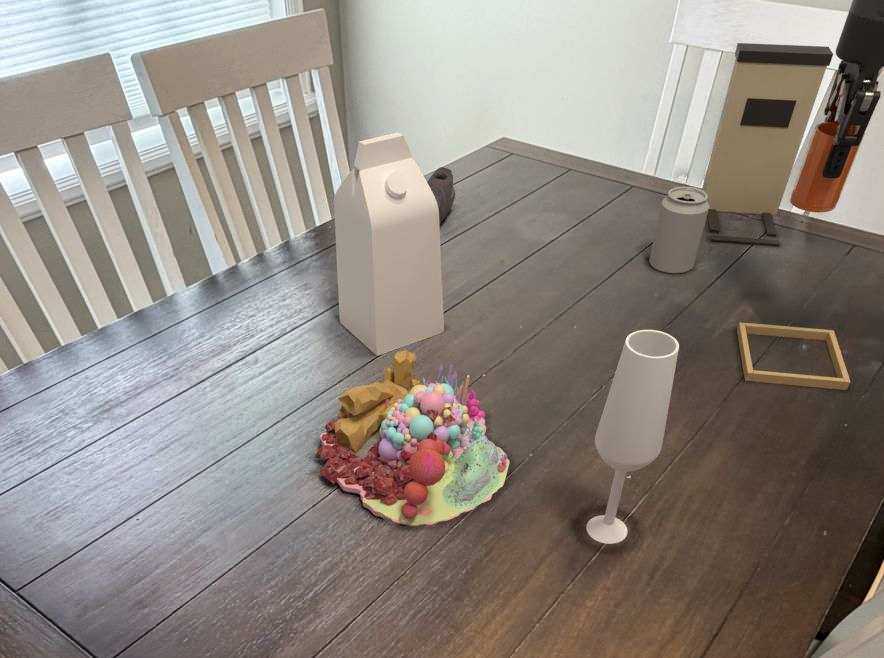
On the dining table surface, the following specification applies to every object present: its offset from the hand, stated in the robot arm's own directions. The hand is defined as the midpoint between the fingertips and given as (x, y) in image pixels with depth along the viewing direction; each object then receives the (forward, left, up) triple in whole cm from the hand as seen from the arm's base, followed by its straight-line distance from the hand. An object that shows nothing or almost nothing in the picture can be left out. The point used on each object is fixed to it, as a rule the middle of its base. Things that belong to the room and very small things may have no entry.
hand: (826, 167), depth 98 cm
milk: (+58, +13, -22) cm, 63 cm away
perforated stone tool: (+58, -26, -22) cm, 67 cm away
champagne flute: (+24, +53, -22) cm, 62 cm away
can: (+15, -14, -22) cm, 30 cm away
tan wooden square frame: (-1, +13, -22) cm, 25 cm away
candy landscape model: (+48, +43, -22) cm, 68 cm away
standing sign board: (+2, -33, -22) cm, 39 cm away
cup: (0, 0, -5) cm, 5 cm away
